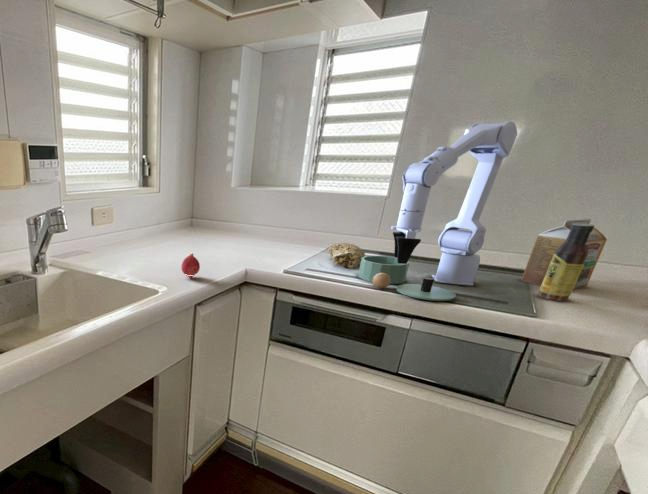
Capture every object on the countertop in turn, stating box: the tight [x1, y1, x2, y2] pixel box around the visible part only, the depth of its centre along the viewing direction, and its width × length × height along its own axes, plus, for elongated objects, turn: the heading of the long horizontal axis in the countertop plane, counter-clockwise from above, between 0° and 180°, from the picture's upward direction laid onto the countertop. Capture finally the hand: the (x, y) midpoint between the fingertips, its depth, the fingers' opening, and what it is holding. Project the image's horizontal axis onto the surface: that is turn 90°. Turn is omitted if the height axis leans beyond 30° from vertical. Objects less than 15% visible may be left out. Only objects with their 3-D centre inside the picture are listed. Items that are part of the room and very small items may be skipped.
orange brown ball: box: [372, 273, 391, 289], centre depth 118 cm, size 5×5×5 cm
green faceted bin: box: [357, 255, 410, 285], centre depth 127 cm, size 13×13×6 cm
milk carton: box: [520, 218, 608, 290], centre depth 118 cm, size 11×11×19 cm
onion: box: [181, 252, 201, 279], centre depth 128 cm, size 6×6×8 cm
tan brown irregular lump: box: [327, 242, 366, 269], centre depth 147 cm, size 13×8×20 cm
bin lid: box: [395, 276, 457, 302], centre depth 112 cm, size 14×14×5 cm
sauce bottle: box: [538, 223, 595, 302], centre depth 105 cm, size 6×6×20 cm
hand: (400, 260), depth 113 cm, fingers open, 7 cm apart
